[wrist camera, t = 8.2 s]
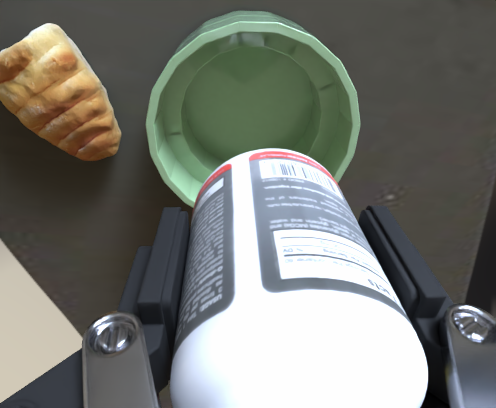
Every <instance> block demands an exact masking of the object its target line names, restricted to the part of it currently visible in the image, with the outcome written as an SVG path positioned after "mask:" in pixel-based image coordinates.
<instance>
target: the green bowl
mask: <svg viewBox="0 0 496 408" xmlns="http://www.w3.org/2000/svg"><path fill="white" fill-rule="evenodd" d="M359 129H360V117H359V108H358V99H357V93H356V90H355V88H354V86H353V84H352V82H351V80H350V78H349V76H348V74H347V72H346V70H345V68H344V66H343V64H342V62H341V61H340V60H339V59H338V58H337V57H336V56H335V55H334V54H333V53H332V52H330V51H329V50H328V49H327V48H326V47H325V46H324V45H323V44H322V43H321V42H320V41H318V40H317V39H316V38H315V37H314V36H313V35H311V34H310V33H309V32H307V31H306V30H305V29H303V28H302V27H301V26H299V25H298V24H296V23H295V22H292V21H290V20H287V19H285V18H282V17H280V16H277V15H275V14H273V13H270V12H267V11H234V12H231V13H229V14H226V15H223V16H220V17H217V18H214V19H211V20H208V21H207V22H205V23H204V24H203V25H201V26H200V27H199V28H198V29H196V30H195V31H194V32H193V33H192V34H190V35H189V36H188V37H187V38H186V39H184V40H183V41H182V43H181V44H180V46H179V47H178V49H177V50H176V51H175V53H174V54H173V56H172V57H171V59H170V60H169V62H168V64H167V65H166V67H165V69H164V70H163V72H162V74H161V75H160V77H159V79H158V80H157V82H156V84H155V85H154V87H153V89H152V91H151V97H150V102H149V107H148V112H147V117H146V131H147V138H148V144H149V151H150V155H151V158H152V160H153V161H154V163H155V165H156V167H157V169H158V171H159V173H160V175H161V177H162V179H163V181H164V182H165V184H166V185H167V186H168V187H169V188H170V189H171V190H172V191H173V192H174V193H175V194H176V195H177V196H178V197H179V198H180V199H181V200H182V201H183V202H184V203H186V204H188V205H189V206H191V207H193V208H194V205H195V201H196V197H197V195H198V193H199V191H200V189H201V187H202V185H203V183H204V182H205V181H206V179H207V178H208V177H209V176H210V175H211V174H212V173H213V172H214V171H215V170H216V169H217V168H218V167H219V166H221V165H222V164H223V163H225V162H226V161H228V160H230V159H232V158H234V157H236V156H238V155H240V154H243V153H246V152H250V151H255V150H260V149H285V150H291V151H295V152H298V153H301V154H303V155H306V156H308V157H310V158H311V159H313V160H315V161H316V162H318V163H319V164H320V165H322V166H323V167H324V168H325V169H326V170H327V171H328V172H329V173H330V174H331V176H332V177H333V178H334V180H335V181H336V182H337V183H338V181H339V180H340V179H341V177H342V175H343V173H344V172H345V170H346V168H347V166H348V165H349V163H350V161H351V159H352V158H353V155H354V152H355V147H356V143H357V138H358V134H359Z"/></svg>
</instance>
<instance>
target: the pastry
mask: <svg viewBox="0 0 496 408" xmlns="http://www.w3.org/2000/svg"><path fill="white" fill-rule="evenodd" d="M0 100H1V102H2V103H3V105H5V107H6V108H7V109H8V110H9V111H10V112H12V113H13V114H14V115H16V116H17V117H18V118H19V120H20V121H21V123H22V124H23V125H25V126H26V127H27V128H28V129H30V130H32V131H33V132H34V133H36V134H37V135H38V136H40V137H41V138H44V139H46V140H47V141H49V142H50V143H51V144H53V145H54V146H57V147H59V148H60V149H62V150H64V151H66V152H67V153H68V154H70V155H74V156H75V157H77V158H79V159H81V160H84V161H96V160H100V159H103V158H106V157H110V156H113V155H114V154H116V153H117V151H118V147H119V143H120V139H121V131H120V129H119V127H118V123H117V120H116V119H115V117H114V111H113V108H112V106H111V105H110V102H109V100H108V96H107V91H106V89H105V87H104V86H103V85H102V84H101V82H100V80H99V79H98V77H97V76H96V74H95V73H94V72H93V70H92V69H91V67H90V65H89V64H88V63H87V61H86V60H85V58H84V57H83V56H82V54H81V52H80V50H79V49H78V48H77V46H76V45H75V43H74V42H73V41H72V40H71V39H70V38H68V37H67V35H66V34H65V32H64V31H63V30H62V29H61V28H60V27H59V26H57V25H55V24H51V23H47V24H45V25H43V26H41V27H38V28H37V29H35V30H33V31H31V32H30V33H29V35H28V36H27V37H25V38H24V39H23V40H22V41H20V42H18V43H16V44H14V45H13V46H11V47H10V48H7V49H4V50H2V51H1V52H0Z"/></svg>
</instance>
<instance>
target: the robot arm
mask: <svg viewBox="0 0 496 408" xmlns="http://www.w3.org/2000/svg"><path fill="white" fill-rule="evenodd" d="M358 224H359V226H360V228H361V230H362V232H363V234H364V236H365V238H366V240H367V241H368V243H369V245H370V247H371V249H372V251H373V253H374V254H375V256H376V258H377V260H378V262H379V264H380V266H381V268H382V270H383V272H384V274H385V276H386V277H387V279H388V281H389V283H390V285H391V287H392V289H393V290H394V292H395V294H396V296H397V298H398V300H399V302H400V304H401V306H402V307H403V309H404V311H405V313H406V315H407V317H408V318H409V320H410V322H411V324H412V326H413V328H414V330H415V332H416V334H417V337H418V339H419V341H420V343H421V346H422V348H423V351H424V354H425V357H426V362H427V368H428V383H427V390H426V394H425V398H424V401H423V403H422V405H421V407H420V408H496V319H495V318H494V317H493V316H491V315H490V314H489V313H487V312H486V311H484V310H482V309H480V308H478V307H475V306H472V305H469V304H462V303H459V304H453V302H452V301H451V299H450V298H449V296H448V295H447V293H446V292H445V290H444V289H443V287H442V286H441V284H440V283H439V281H438V280H437V279H436V277H435V276H434V274H433V273H432V271H431V270H430V268H429V267H428V265H427V264H426V262H425V261H424V259H423V258H422V256H421V255H420V253H419V252H418V251H417V249H416V248H415V246H414V245H413V244H411V242H410V241H409V239H408V238H407V236H406V235H405V233H404V232H403V230H402V229H401V227H400V226H399V224H398V223H397V222H396V220H395V219H394V217H393V216H392V214H391V213H390V211H389V210H388V208H387V207H386V206H368V207H367V208H366V210H362V211H361V214H360V217H359V221H358ZM189 236H190V232H189V222H188V213H187V211H182V209H181V207H164V209H163V212H162V215H161V219H160V222H159V226H158V229H157V233H156V237H155V240H154V244H153V246H140V247H139V248H138V250H137V253H136V256H135V259H134V262H133V265H132V268H131V271H130V274H129V277H128V279H127V282H126V285H125V288H124V291H123V294H122V297H121V300H120V303H119V306H118V309H117V311H114V312H110V313H107V314H105V315H102V316H101V317H99V318H98V319H96V320H95V321H94V322H93V323H92V324H91V325H90V326H89V327H88V328H87V330H86V332H85V334H84V335H83V341H82V348H81V349H80V350H79V351H77V352H75V353H74V354H72V355H71V356H69V357H68V358H66V359H65V360H63V361H62V362H61V363H59V364H58V365H56V366H55V367H53V368H52V369H50V370H49V371H48V372H46V373H44V374H43V375H41V376H40V377H38V378H37V379H35V380H34V381H33V382H31V383H29V384H28V385H27V386H25V387H24V388H22V389H21V390H19V391H18V392H16V393H15V394H13V395H12V396H10V397H9V398H7V399H6V400H4V401H3V402H1V403H0V408H161V403H160V398H159V392H160V391H161V390H162V389H163V388H164V387H165V386H167V385H168V380H170V378H171V367H172V357H173V350H174V343H175V336H176V329H177V322H178V313H179V307H180V300H181V293H182V286H183V278H184V271H185V265H186V258H187V251H188V243H189Z"/></svg>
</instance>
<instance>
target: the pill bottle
mask: <svg viewBox="0 0 496 408" xmlns="http://www.w3.org/2000/svg"><path fill="white" fill-rule="evenodd" d="M427 383H428V368H427V362H426V357H425V354H424V351H423V348H422V346H421V343H420V341H419V339H418V337H417V334H416V332H415V330H414V328H413V326H412V324H411V322H410V320H409V318H408V317H407V315H406V313H405V311H404V309H403V307H402V306H401V304H400V302H399V300H398V298H397V296H396V294H395V292H394V290H393V289H392V287H391V285H390V283H389V281H388V279H387V277H386V276H385V274H384V272H383V270H382V268H381V266H380V264H379V262H378V260H377V258H376V256H375V254H374V253H373V251H372V249H371V247H370V245H369V243H368V241H367V240H366V238H365V236H364V234H363V232H362V230H361V228H360V226H359V224H358V222H357V221H356V219H355V217H354V215H353V213H352V211H351V209H350V207H349V205H348V203H347V202H346V200H345V198H344V196H343V194H342V192H341V190H340V188H339V186H338V184H337V182H336V181H335V180H334V178H333V177H332V176H331V174H330V173H329V172H328V171H327V170H326V169H325V168H324V167H323V166H322V165H320V164H319V163H318V162H316V161H315V160H313V159H311V158H310V157H308V156H306V155H303V154H301V153H298V152H295V151H291V150H285V149H260V150H255V151H250V152H246V153H243V154H240V155H238V156H236V157H234V158H232V159H230V160H228V161H226V162H225V163H223V164H222V165H221V166H219V167H218V168H217V169H216V170H215V171H214V172H213V173H212V174H211V175H210V176H209V177H208V178H207V179H206V181H205V182H204V183H203V185H202V187H201V189H200V191H199V193H198V195H197V197H196V201H195V205H194V209H193V214H192V223H191V229H190V236H189V243H188V251H187V258H186V265H185V271H184V278H183V286H182V293H181V300H180V307H179V313H178V322H177V329H176V336H175V343H174V350H173V357H172V367H171V378H170V395H171V402H172V406H173V408H420V407H421V405H422V403H423V401H424V398H425V394H426V390H427Z"/></svg>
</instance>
